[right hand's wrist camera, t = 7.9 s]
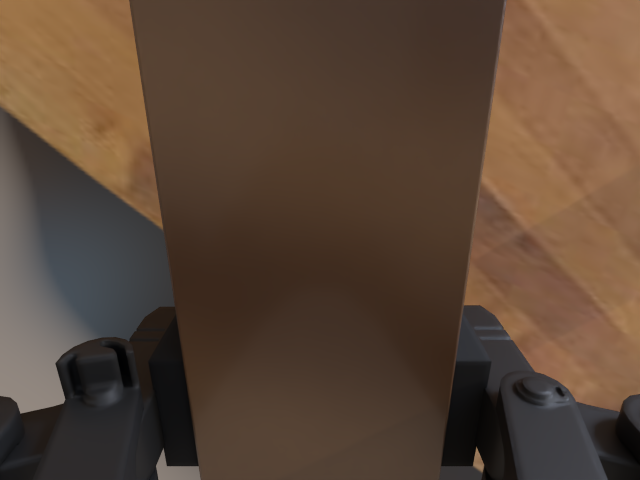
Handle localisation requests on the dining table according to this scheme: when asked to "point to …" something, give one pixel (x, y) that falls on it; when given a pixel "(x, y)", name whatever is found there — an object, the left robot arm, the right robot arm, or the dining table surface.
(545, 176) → the dining table surface
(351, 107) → the bar
